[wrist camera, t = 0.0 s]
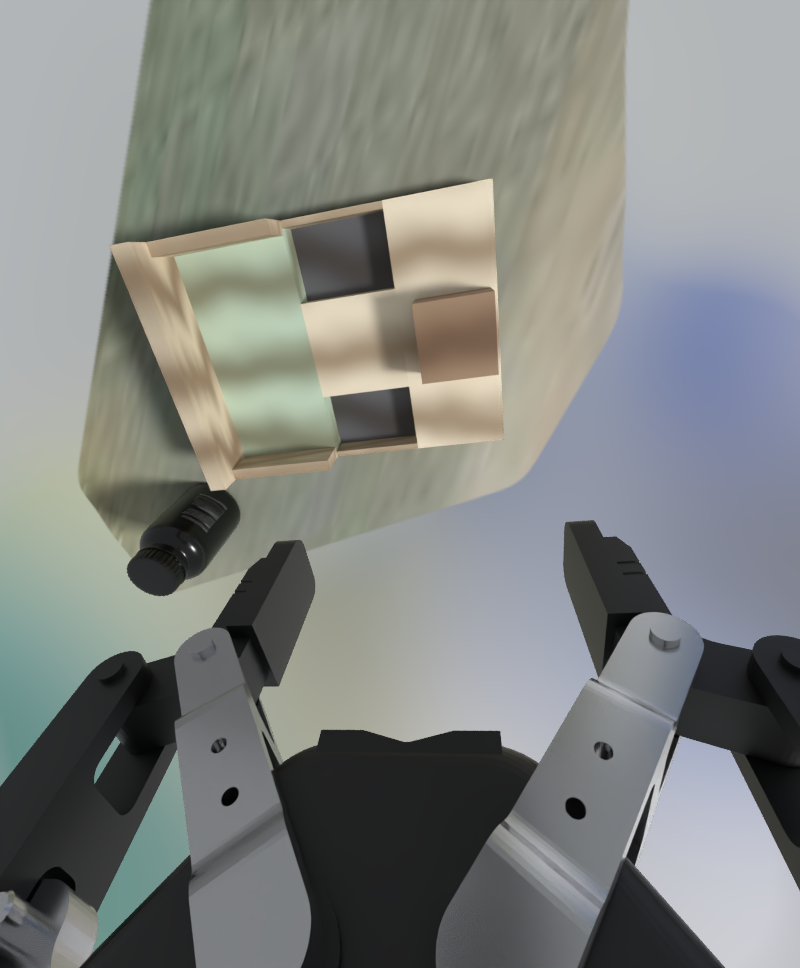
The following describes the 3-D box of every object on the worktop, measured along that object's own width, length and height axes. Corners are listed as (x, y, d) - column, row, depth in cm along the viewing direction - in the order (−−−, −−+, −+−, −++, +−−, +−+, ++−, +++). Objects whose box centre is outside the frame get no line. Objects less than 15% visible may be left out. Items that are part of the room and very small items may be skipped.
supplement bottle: (173, 491, 49) (99, 556, 39) (222, 475, 47) (158, 539, 37) (205, 537, 52) (144, 610, 42) (253, 524, 50) (201, 596, 40)
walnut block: (415, 299, 34) (411, 304, 31) (490, 287, 33) (494, 291, 30) (424, 373, 37) (422, 384, 34) (494, 364, 36) (498, 374, 33)
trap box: (169, 246, 37) (109, 245, 30) (489, 183, 32) (499, 166, 26) (244, 456, 46) (210, 490, 39) (501, 429, 42) (510, 463, 35)
